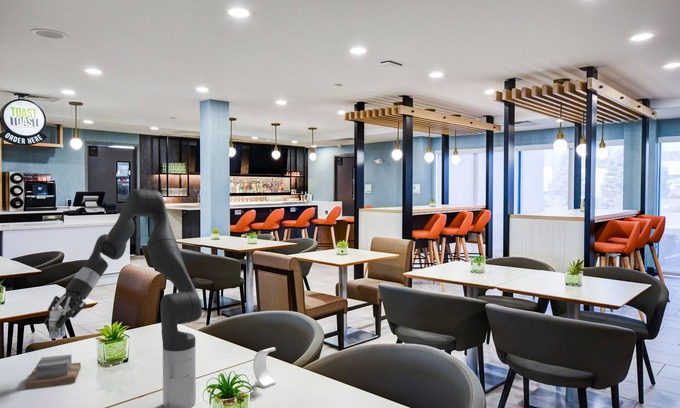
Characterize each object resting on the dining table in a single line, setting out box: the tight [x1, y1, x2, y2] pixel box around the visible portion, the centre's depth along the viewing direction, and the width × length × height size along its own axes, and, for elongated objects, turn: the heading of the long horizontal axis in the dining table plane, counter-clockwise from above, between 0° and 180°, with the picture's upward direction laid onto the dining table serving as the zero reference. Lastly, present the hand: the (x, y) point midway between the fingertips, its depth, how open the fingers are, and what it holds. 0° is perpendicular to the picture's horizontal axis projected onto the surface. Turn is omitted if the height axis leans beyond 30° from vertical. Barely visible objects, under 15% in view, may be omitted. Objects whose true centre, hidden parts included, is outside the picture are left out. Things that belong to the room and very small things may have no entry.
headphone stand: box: [252, 347, 277, 389], centre depth 159 cm, size 5×6×12 cm
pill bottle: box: [48, 309, 66, 339], centre depth 163 cm, size 5×5×8 cm
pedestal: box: [24, 354, 81, 390], centre depth 163 cm, size 14×14×6 cm
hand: (51, 325), depth 161 cm, fingers closed on pill bottle, 4 cm apart
